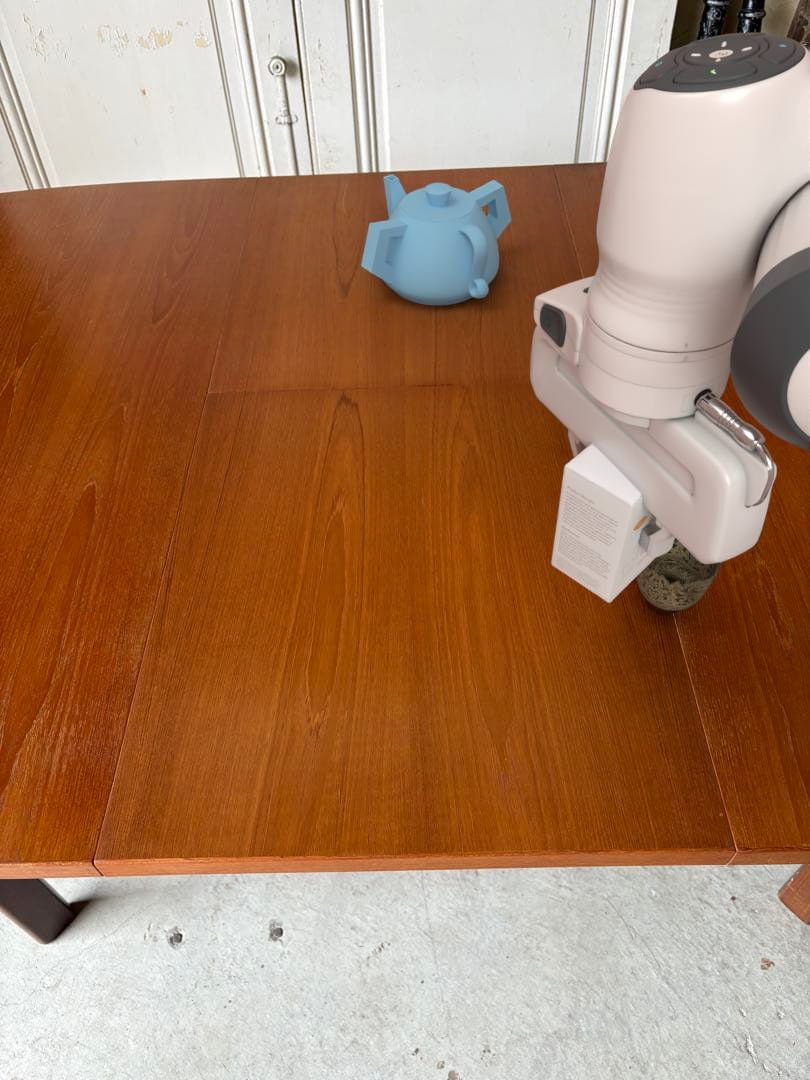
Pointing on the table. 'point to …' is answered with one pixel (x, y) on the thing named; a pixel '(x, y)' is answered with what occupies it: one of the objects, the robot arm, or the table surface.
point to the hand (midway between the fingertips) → (619, 512)
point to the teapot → (438, 241)
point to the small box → (599, 526)
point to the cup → (675, 580)
